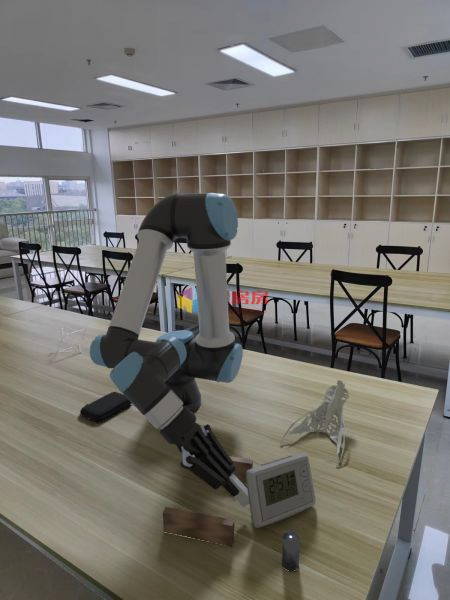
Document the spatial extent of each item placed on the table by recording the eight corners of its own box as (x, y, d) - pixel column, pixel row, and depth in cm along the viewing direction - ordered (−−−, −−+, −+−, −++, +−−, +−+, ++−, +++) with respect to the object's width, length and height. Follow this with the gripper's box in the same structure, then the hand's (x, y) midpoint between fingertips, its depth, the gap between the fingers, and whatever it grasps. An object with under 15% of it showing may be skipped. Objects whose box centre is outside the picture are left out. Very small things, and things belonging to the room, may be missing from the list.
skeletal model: (277, 447, 108) (306, 362, 119) (287, 457, 115) (314, 376, 126) (337, 468, 100) (363, 374, 110) (344, 477, 107) (368, 388, 117)
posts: (281, 569, 74) (281, 542, 72) (294, 477, 97) (295, 455, 95) (298, 573, 73) (299, 545, 71) (307, 479, 96) (308, 457, 95)
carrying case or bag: (112, 396, 137) (75, 416, 126) (112, 387, 136) (74, 407, 125) (135, 404, 132) (98, 426, 120) (135, 396, 131) (97, 417, 119)
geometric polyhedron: (67, 344, 183) (64, 325, 180) (91, 345, 182) (88, 325, 179) (53, 355, 171) (50, 335, 169) (78, 356, 170) (75, 335, 167)
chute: (163, 533, 82) (162, 512, 81) (196, 468, 100) (195, 450, 99) (232, 547, 78) (232, 525, 77) (252, 478, 97) (252, 459, 96)
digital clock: (252, 533, 79) (254, 482, 78) (235, 504, 88) (237, 457, 86) (324, 516, 85) (328, 469, 83) (302, 491, 93) (305, 447, 92)
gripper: (171, 411, 92) (243, 488, 92) (145, 444, 80) (228, 534, 80) (194, 392, 89) (267, 473, 90) (170, 425, 77) (255, 517, 77)
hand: (248, 501), depth 85 cm, fingers closed
